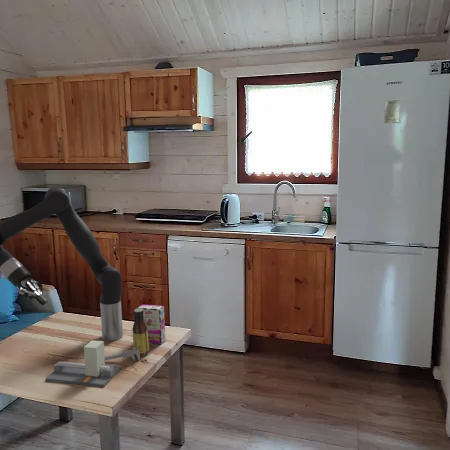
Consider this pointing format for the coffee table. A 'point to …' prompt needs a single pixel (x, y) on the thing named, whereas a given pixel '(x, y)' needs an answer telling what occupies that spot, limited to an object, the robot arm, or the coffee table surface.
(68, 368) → the pipe rig
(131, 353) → the caliper
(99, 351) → the sage green block
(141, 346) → the sauce bottle
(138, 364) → the coffee table surface
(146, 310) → the candy bar box
